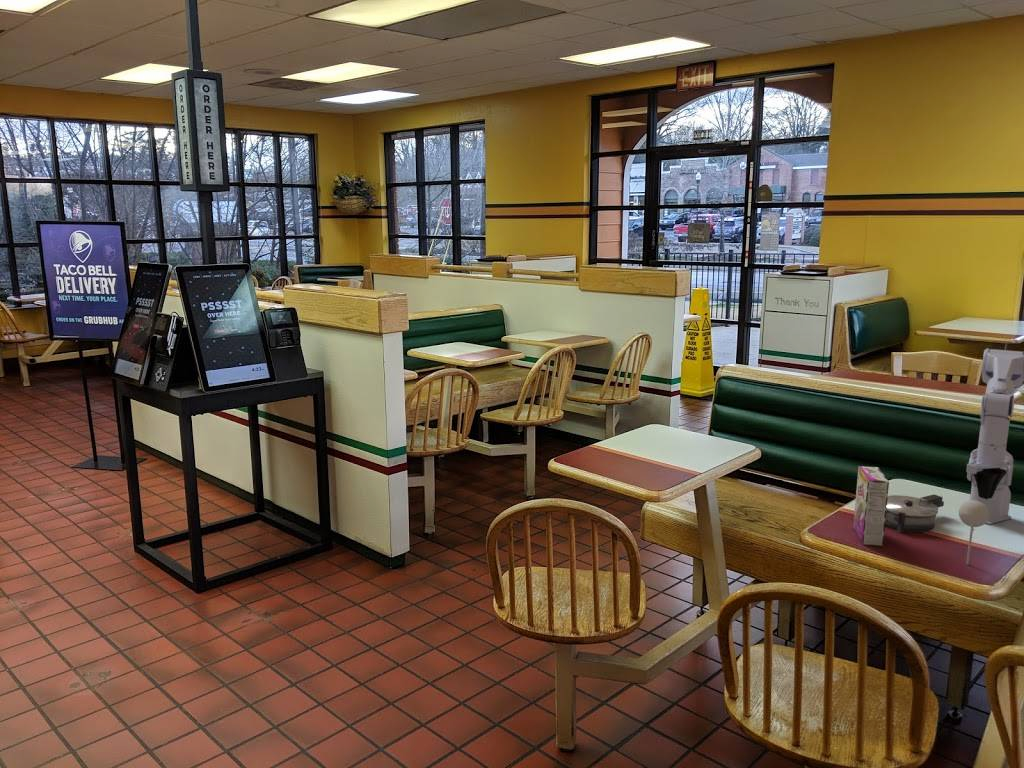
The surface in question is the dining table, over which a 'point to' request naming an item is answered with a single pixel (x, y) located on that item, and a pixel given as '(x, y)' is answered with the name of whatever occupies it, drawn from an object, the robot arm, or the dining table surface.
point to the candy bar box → (871, 505)
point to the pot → (911, 521)
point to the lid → (913, 505)
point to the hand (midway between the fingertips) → (985, 497)
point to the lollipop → (973, 517)
